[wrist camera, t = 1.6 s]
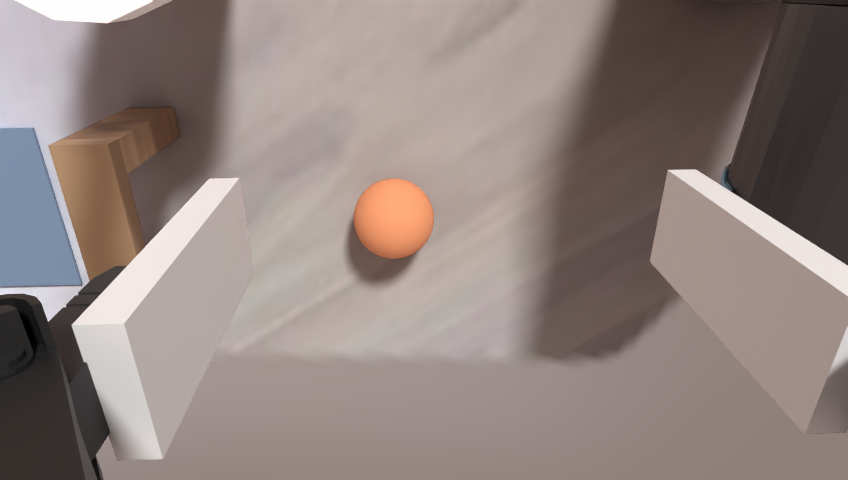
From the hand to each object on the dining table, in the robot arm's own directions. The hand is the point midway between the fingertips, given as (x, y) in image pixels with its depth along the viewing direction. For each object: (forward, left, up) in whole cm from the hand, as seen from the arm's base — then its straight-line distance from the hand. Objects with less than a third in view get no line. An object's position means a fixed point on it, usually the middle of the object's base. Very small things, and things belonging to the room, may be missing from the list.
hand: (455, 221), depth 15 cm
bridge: (+18, +9, -24) cm, 31 cm away
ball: (+2, +9, -21) cm, 23 cm away
